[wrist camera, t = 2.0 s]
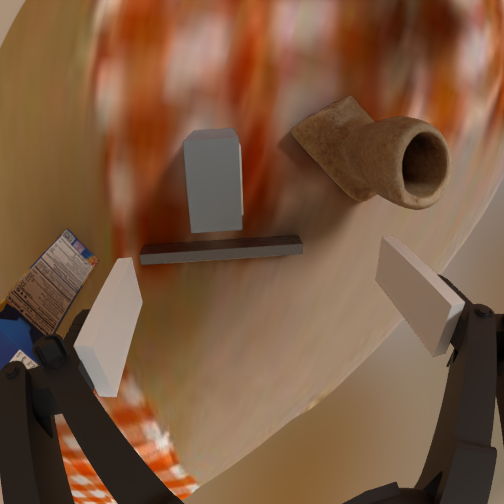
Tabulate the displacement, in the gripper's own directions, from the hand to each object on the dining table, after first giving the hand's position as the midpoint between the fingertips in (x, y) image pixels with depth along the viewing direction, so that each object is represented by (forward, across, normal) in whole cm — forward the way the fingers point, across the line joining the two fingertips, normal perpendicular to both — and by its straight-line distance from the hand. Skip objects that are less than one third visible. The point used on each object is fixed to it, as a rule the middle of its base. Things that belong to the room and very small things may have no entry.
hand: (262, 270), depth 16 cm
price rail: (+27, -3, -11) cm, 29 cm away
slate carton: (+27, -2, +1) cm, 27 cm away
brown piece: (+27, +16, +3) cm, 32 cm away
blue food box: (+28, -28, -12) cm, 41 cm away
